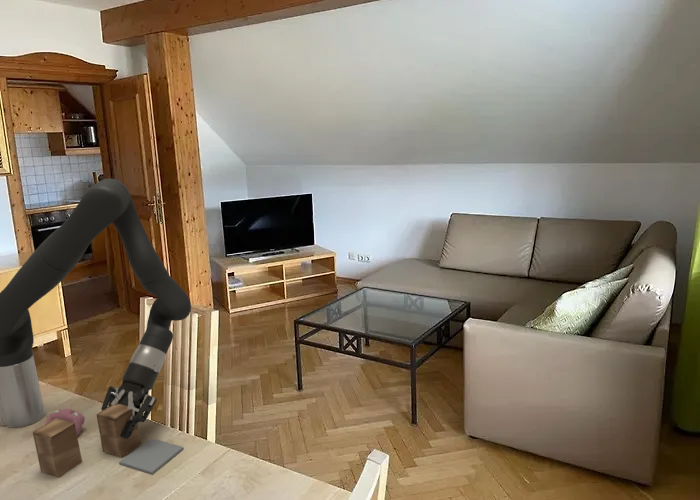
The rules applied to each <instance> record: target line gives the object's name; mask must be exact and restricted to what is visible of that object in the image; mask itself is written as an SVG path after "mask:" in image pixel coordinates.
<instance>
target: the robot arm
mask: <svg viewBox="0 0 700 500" xmlns="http://www.w3.org/2000/svg"><path fill="white" fill-rule="evenodd" d="M111 224H113V226H114V228H115V229H116V230H117V232H118V234H119V236H120V239H121V241H122V244H123V247H124V251H125V253H126V256H127V259H128V262H129V265H130V266H131V269H132V271H133V273H134V275H135V276H136V277H137V279H138V280H139V282H140V284H141V286H142V287H143V289H144V290H145V291H146V292H148V293H150V294H152V295H154V296H155V297H156V299H154V301H153V303H152V305H151V307H150V310H149V313H148V318H147V324H146V329H145V331H144V333H143V336H142V337H141V339H140V342H139V344H138V346H137V348H136V349H135V351H134V352H133V354H132V356H131V358H130V361H129V363H128V365H127V366H126V369H125V370H124V371H125V372H124V373H123V375H122V378H121V380H122V384H121V385H119V387H113V386H112V385H110V386H109V387H108V389H107V391H106V394H105V397H104V400H103V403H102V405H101V408H100V409H101V411H102V410H104V409H106V408H107V407H109V406H111V405H116V404H118V403H119V404H121V405H125V406H128V409H130V410H131V412H130V414H129V417H128V420H129V421H127V422H126V424H125V426H124V429H123V431H122V433H121V437H122V438H125V439H128V438H129V437H130V436H131V434H132V432H133V430H134V428H135V425H136V424H137V423H138V424H139V423H146V421H147V419H148V417H149V416H150V413H151V412H152V410H153V408H154V407H155V405H156V403H157V400H158V399H157V398H156V397H154V396H152V395H149V391H150V390H153V388H154V385H155V384H156V381H157V379H158V376H159V374H160V371H161V370H162V367H163V365H164V362H165V359H166V356H167V353H168V351H169V349H170V347H171V345H172V341H173V338H174V333H173V332H172V331H171V330H170V327H171V324H172V322H173V321H183V320H185V319H187V318H189V315H190V314H191V310H192V304H191V300H190V298H189V296H188V295H187V293H186V291H184V289H183V288H182V287H181V286H180V285H179V284H178V282H177V281H176V280H175V279H174V278H173V277H171V275H170V273H169V272H168V270H167V268H166V266H165V264H164V263H163V261H162V260H161V258H160V256H159V254H158V253H157V251H156V249H155V247H154V246H153V244H152V242H151V241H150V238H149V236H148V233H147V231H146V230H145V228H144V226H143V223H142V221H141V219H140V217H139V214H138V212H137V208H136V206H135V203H134V200H133V198H132V196H131V192H130V191H129V189H128V187H127V186H126V185H125V184H124V183H123V182H122V181H121V180H118V179H115V178H104V179H101V180H99V181H98V182H96V183H95V184H93V185H92V186H90V187H89V188H88V189H87V190H86V192H85V193H84V194H83V196H82V197H81V199H80V200H79V202H78V203H77V205H76V206H75V208H74V209H73V211H72V212H71V214H70V215H69V216H68V217H67V219H66V220H65V221H64V222H63V223H62V224H61V225H60V226H59V227H57V229H55V230H54V231H53V232H52V233H51V234H50V235H48V236H47V238H46V239H44V240H43V242H42V243H40V244H39V246H38V247H37V248H36V249H35V250H34V252H32V254H31V255H29V257H28V258H27V260H26V261H25V262H24V264H22V265H21V267H19V270H17V272H16V273H15V274H14V276H13V277H12V279H10V281H9V283H8V284H7V285H6V287H4V288H3V290H2V291H1V292H0V423H1V426H2V427H8V428H14V429H15V428H16V429H17V428H21V427H25V426H29V425H32V424H34V423H36V422H38V421H40V420H41V419H43V418H44V416H45V405H44V402H43V396H42V392H41V387H40V382H39V377H38V373H37V367H36V362H35V358H34V352H33V347H34V339H35V338H34V331H33V325H32V317H31V313H30V310H29V309H30V308H32V306H33V305H34V304H35V303H37V302H38V301H39V300H41V299H42V298H43V297H44V296H46V295H47V294H48V293H50V292H52V290H54V288H55V287H57V286H58V285H59V284H60V283H62V281H64V279H65V278H66V277H67V276H68V275H69V274H70V273H71V272H72V271H73V270H74V268H75V267H76V266H77V264H78V263H79V262H80V260H81V259H82V257H83V256H84V254H85V252H86V251H87V249H88V247H89V245H91V243H92V241H93V240H95V238H96V237H97V236H99V234H101V233H102V232H103V231H104V230H106V228H107V227H108V226H110V225H111ZM134 406H135V407H134ZM134 412H135V413H136V415H135V416H134Z"/></svg>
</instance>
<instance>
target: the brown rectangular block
mask: <svg viewBox="0 0 700 500" xmlns="http://www.w3.org/2000/svg"><path fill="white" fill-rule="evenodd" d="M108 406H109V405H108ZM108 406H107V408H106V409H104V410H101V411H99V412H98V413H96V420H97V427H98V431H99V437H100V442H101V443H100V444H101V448H102V453H105V454H108V455H111V456H114V457H115V456H116V457H118V458H121V459H123V458H124V457H126V456H127V454H128V453H129V454H130V453H131V451H134V450H135V449H137V448H138V447H139V446H141V445H142V440H141V436H140V428H139V422H138V423H137V424H136V425H135V428H134V430H133V432H132V434H131V436H130V437H129V438H128V439H125V438H122V437H121V433H122V431H123V429H124V426H125V424H126V422H127V421H129V420H128V417H129V414H130V412H131V410H130V409H128V406H125V405H121V404H119V403H118V404H116V405H111V406H109V407H108ZM134 407H135V406H134ZM135 415H136V413H135V412H134V416H135Z"/></svg>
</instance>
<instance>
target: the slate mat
mask: <svg viewBox="0 0 700 500" xmlns="http://www.w3.org/2000/svg"><path fill="white" fill-rule="evenodd" d="M183 450H184V446H181V445H177V444H174V443H170V442H167V441H162V440H160V439H156V438H152V437H151V438H149V439H148V440H147V441H145V442H144V443H143V444H140V445H139V446H138V447H136V448H135V449H133V450H132V452H129V454H128V455H125V456H124V457H123V458H121V460H119V461H118V465H121V466H123V467H127V468H131V469H134V470H137V471H139V472H144V473H146V474H150V475H151V476H152V475H154V474H156V473H157V471H159V470H160V469H161V468H162V467H164V466H165V465H166V464H168V463H169V462H170V461H171V460H172V459H174V458H175V457H176V456H177V455H178V454H180V453H181V452H183Z"/></svg>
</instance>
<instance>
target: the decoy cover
mask: <svg viewBox="0 0 700 500" xmlns="http://www.w3.org/2000/svg"><path fill="white" fill-rule="evenodd" d="M32 436H33V440H34V446H35V449H36V455H37V460H38V463H39V469H40V472H42V473H43V474H44V473H45V474H47V475H51V476H53V477H57V478H60V477H62V476H63V475H65V474H66V473H68V472H69V471H71V470H72V469H74V468H75V467H77V466H78V465H80V464H81V463H83V459H82V455H81V450H80V444H79V438H78V436H77V432H76V427H75V423H72V422H69V421H65V420H62V419H58V418H56V419H54V420H52V421H51V422H49V423H47V424H45V423H44V425H42V426H40V427H39V428H37V429H35V430H34V431H32Z"/></svg>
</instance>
